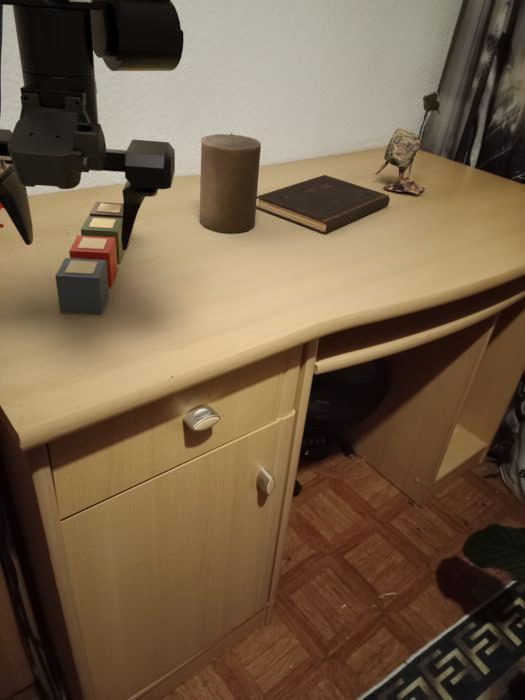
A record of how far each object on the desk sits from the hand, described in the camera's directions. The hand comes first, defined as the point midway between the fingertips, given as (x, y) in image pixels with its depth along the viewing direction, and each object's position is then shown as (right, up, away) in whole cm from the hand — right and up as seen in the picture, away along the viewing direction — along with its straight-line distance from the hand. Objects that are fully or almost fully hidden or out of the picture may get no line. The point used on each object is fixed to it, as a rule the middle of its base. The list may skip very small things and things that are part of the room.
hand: (77, 246), depth 54 cm
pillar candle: (+12, +12, +41) cm, 44 cm away
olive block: (-5, +3, +26) cm, 26 cm away
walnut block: (-5, +7, +30) cm, 32 cm away
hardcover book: (+30, +17, +52) cm, 62 cm away
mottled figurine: (+48, +25, +66) cm, 86 cm away
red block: (-4, -1, +20) cm, 20 cm away
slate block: (-4, -5, +14) cm, 15 cm away
